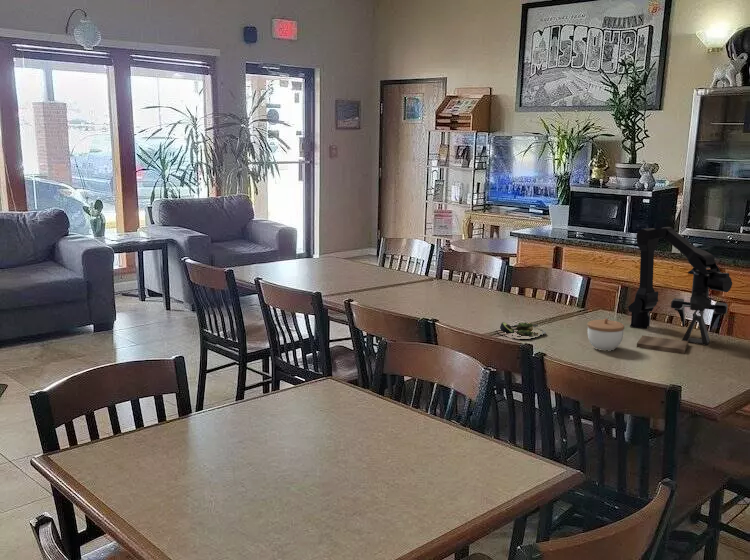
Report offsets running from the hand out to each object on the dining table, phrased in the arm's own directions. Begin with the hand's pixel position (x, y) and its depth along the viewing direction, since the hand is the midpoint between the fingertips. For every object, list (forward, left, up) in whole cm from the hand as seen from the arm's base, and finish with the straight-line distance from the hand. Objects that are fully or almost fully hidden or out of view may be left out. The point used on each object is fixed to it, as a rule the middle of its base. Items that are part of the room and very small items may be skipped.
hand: (696, 328), depth 264 cm
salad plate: (-61, -22, -6) cm, 65 cm away
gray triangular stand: (0, 0, -5) cm, 5 cm away
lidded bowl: (-28, -26, -5) cm, 39 cm away
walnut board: (-10, -13, -5) cm, 17 cm away
